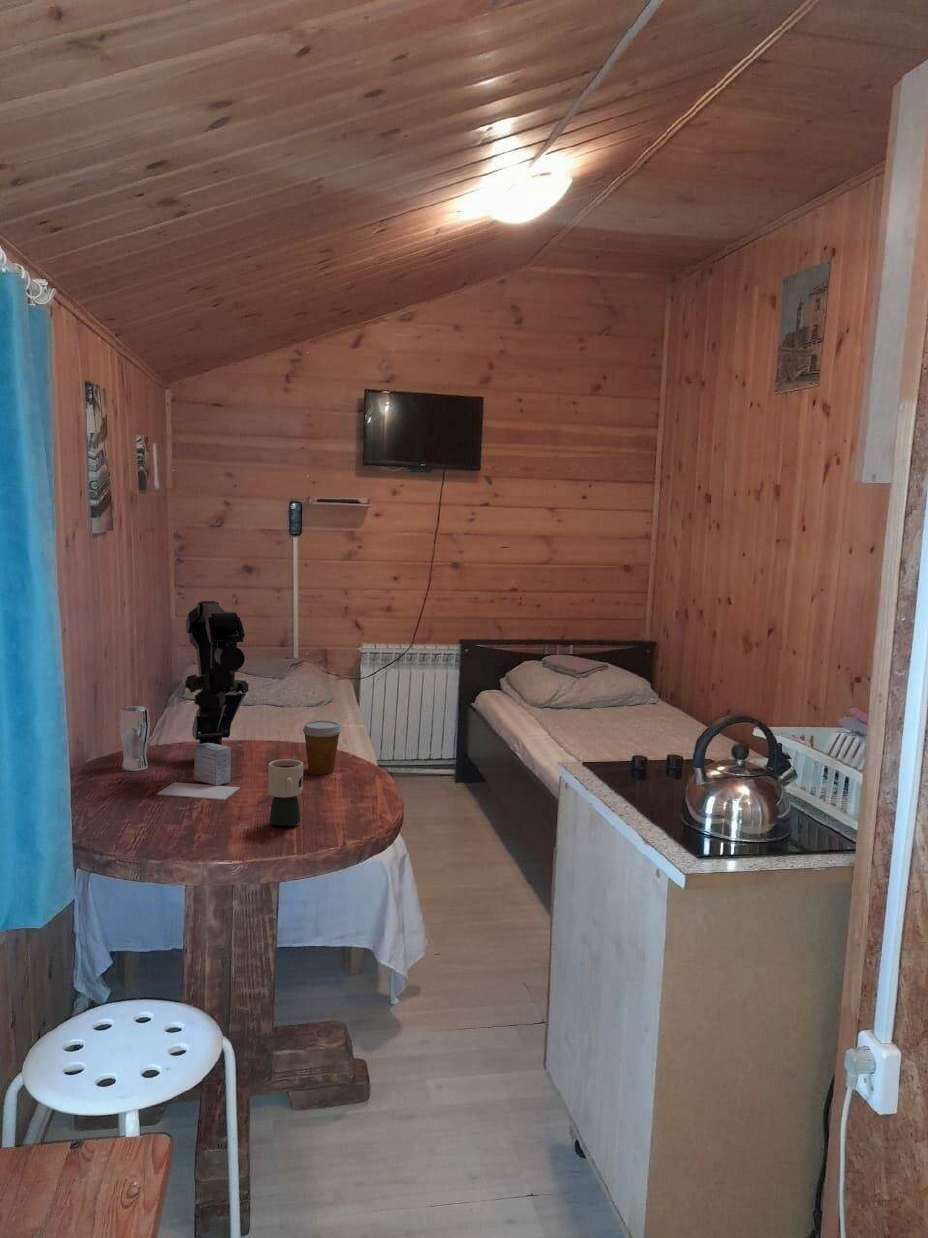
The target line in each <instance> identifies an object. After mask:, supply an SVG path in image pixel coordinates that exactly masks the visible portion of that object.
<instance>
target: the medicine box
mask: <svg viewBox="0 0 928 1238" xmlns="http://www.w3.org/2000/svg"><path fill="white" fill-rule="evenodd" d="M231 752H232V751H231V747H230V746H226V745H223V744H222V745H218V744H213V743H203V744H199V743H198V744H197V745H194V760H195V762H194V768H193V769H194V771H193V774H194V777H193V780H194V781H197V782H201V783H205V784H207V785H215V786H223V785H225V784H229V783H231V758H232V757H231V755H232V754H231Z"/></svg>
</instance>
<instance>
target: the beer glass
mask: <svg viewBox="0 0 928 1238" xmlns="http://www.w3.org/2000/svg"><path fill="white" fill-rule="evenodd" d="M119 715H120V716H119V733H120V738H121V739H120V740H121V745H122V751H123V757H122V758H123V760H122V765H121V769H122V770H123V771H127V772H137V771H144V770H146V769H148V767H149V764H148V758H147V748H148V742H149V735H150V730H151V727H150V726H151V724H150V723H151V722H150V721H151V720H150V709H149V706H144V705H129V706H124V707H121V708H120V714H119Z"/></svg>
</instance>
